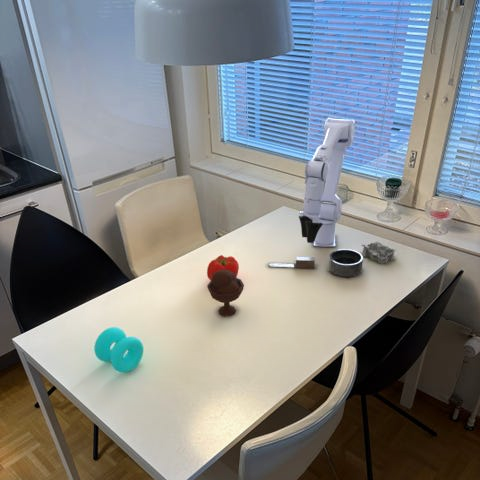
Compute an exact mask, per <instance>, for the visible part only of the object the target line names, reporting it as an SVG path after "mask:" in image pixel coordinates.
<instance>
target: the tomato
mask: <svg viewBox="0 0 480 480" xmlns="http://www.w3.org/2000/svg"><path fill="white" fill-rule="evenodd" d="M239 269H240V266H239V262H238V261H237V260H236V258H235V257H234V256H231V255H230V256H224V255H223V254H220V255H217V257H214V259H213V260H211V261H210V262H209V263H208V266H207V270H206V276H207V278H208V279H209V280H210V281H211V279H212V276H213V274H214V273H215V272H217V271H219V270H228V271H231V272H233V273H234V274H236V277H238V275H239V274H238V273H239Z"/></svg>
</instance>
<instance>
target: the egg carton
mask: <svg viewBox="0 0 480 480" xmlns="http://www.w3.org/2000/svg"><path fill="white" fill-rule="evenodd" d="M361 246H362V247H363V248H362V256H363V257H369V258H370V260H372V261H378V262H377V263H378V264H387V263H388V261H393V260H394V255H395V253H396V251H397V249H395V248H394V249H393V248H391V247H390V246H388V245H385V244H382V243H381V242H379V241H374V242H370V243H368V244H367V245H366V244H362V245H361Z"/></svg>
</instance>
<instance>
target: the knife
mask: <svg viewBox="0 0 480 480" xmlns="http://www.w3.org/2000/svg"><path fill="white" fill-rule="evenodd" d="M315 263H316V257H312V256H295V259H294V262H293V263H276V262H275V263H274V262H273V263H269V264H268V267H270V268H284V269H288V268H289V269H315V267H316V266H315Z"/></svg>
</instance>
